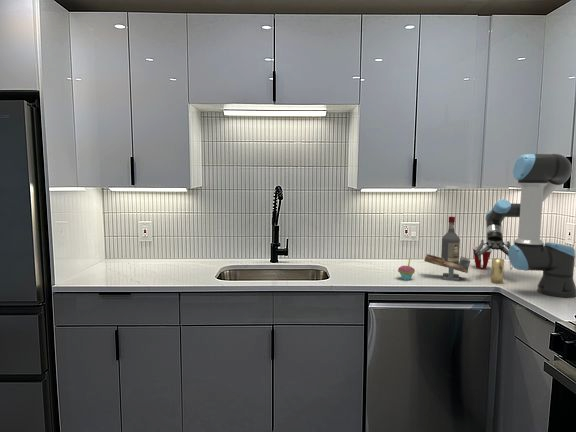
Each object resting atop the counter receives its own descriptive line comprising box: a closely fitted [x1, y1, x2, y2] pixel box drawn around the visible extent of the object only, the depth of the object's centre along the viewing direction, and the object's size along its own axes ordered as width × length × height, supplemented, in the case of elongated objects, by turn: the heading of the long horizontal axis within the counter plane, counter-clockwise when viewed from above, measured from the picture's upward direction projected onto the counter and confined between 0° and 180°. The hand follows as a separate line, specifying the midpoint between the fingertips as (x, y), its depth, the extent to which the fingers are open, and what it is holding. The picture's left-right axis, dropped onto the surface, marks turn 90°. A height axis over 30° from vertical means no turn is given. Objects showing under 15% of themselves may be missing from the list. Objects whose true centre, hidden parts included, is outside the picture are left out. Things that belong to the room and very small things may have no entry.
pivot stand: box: [442, 262, 460, 282], centre depth 206 cm, size 8×11×8 cm
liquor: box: [440, 216, 461, 265], centre depth 238 cm, size 9×9×30 cm
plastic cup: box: [472, 246, 493, 270], centre depth 229 cm, size 11×11×12 cm
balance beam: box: [423, 253, 471, 274], centre depth 206 cm, size 22×8×6 cm, turn 67°
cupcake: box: [397, 258, 416, 281], centre depth 204 cm, size 9×8×12 cm
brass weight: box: [490, 257, 505, 285], centre depth 197 cm, size 6×6×12 cm
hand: (496, 267), depth 199 cm, fingers open, 13 cm apart
